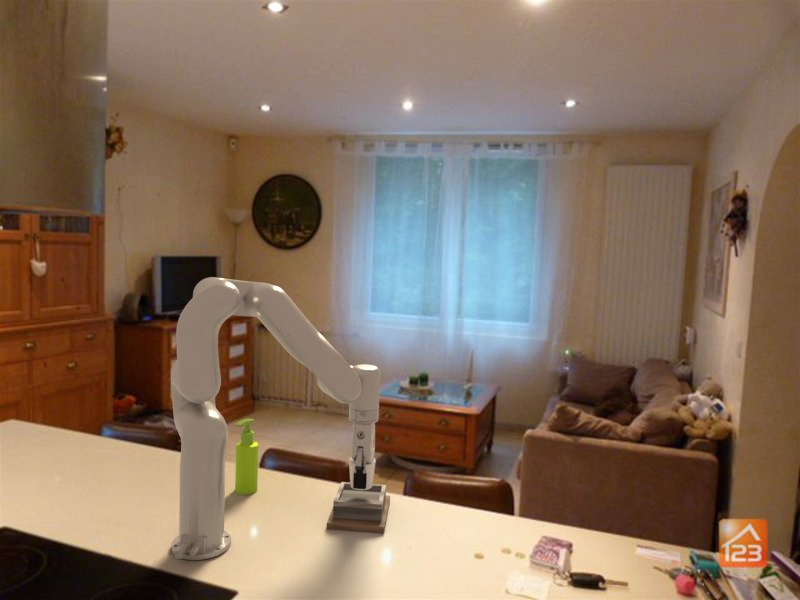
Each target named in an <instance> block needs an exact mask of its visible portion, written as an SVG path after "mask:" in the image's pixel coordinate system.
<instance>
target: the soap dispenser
mask: <svg viewBox="0 0 800 600" xmlns="http://www.w3.org/2000/svg"><path fill="white" fill-rule="evenodd" d="M254 421H255V419H254V418H253V419H252V418H245V419H241V420H239V421H237V422H236V423H235V424H234V425H235V426H237V427H242V426H244V429H243V430H242V431H241V432H240V441H239V442H237V443H236V444H235V483H234V484H235V486H234V490H235V493H236V494H238V495H243V496H246V495H252V494H255V493H257V492H258V477H259V475H258V474H259V473H258V472H259V470H258V469H259V464H258V463H259V443H258V442H257V441H255V440H254V439H255V435H254V434H255V431H254V430H252V423H253V422H254Z"/></svg>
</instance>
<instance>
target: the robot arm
mask: <svg viewBox="0 0 800 600" xmlns="http://www.w3.org/2000/svg"><path fill="white" fill-rule="evenodd" d="M231 316H241V317H255V318H257V320H259V321H260V323H261V324H262V325H264V327H265V328H266V329H267V330H268V332H269V333H270V334H271V335H272V336H273V338H274V339H276V340H277V342H278V343H279V345H281V346H282V348H284V350H285V351H286V353H288V354H289V355H290V356H291V357H292V358H293V359H294V360H296V361H297V362H298V363H300V364H301V365H303V366H304V367H305V368H307V369H308V370H309V371H310V372H311V373H312V374H313V375H315V377H316V383H317V386H318V388H319V389H320V391H322V392H323V393H324V394H326V395H327V396H329V397H331V398H332V399H334V400H335V401H336V402H338V403H342V404H348V421H350V422H351V423H352V434H351V435H352V440H351V443H352V444H351V457H352V460H353V461H354V462H355V468H354V478H353V488H355V489H366V479H367V473H366V462H369V463H370V462H371V461H372V459H373V457H374V455H375V452H376V451H375V450H376V423H377V422H378V421H379V417H380V414H379V413H380V394H381V393H380V392H381V391H380V390H381V388H380V387H381V370H380V367H378V366H377V365H373V364H366V363H363V364H356V365H350V364H349V363H348V361H347V360H346V359H345V358H344V357H343V356H342V354H341V353H340V352H339V351H338V350H336V348H334V346H333V345H331V343H330V342H329V341H328V340H327V339H326V338H325V337H324V336H323V334H321V333H320V331H318V330H317V329H316V327H315V326H314V324H312V322H311V321H310V320H309V319H308V318H307V317H306V315H304V313H303V311H301V309H300V308H299V307H298V306H297V305H296V303H295V302H294V301H293V300H292V299H291V297H290V295H288V294H287V293H286V292H285V290H284V289H282V287H280V286H277V285H274V284H271V283H267V282H259V281H249V280H248V281H247V280H239V279H232V278H231V279H230V278H225V277H224V278H222V277H217V276H216V277H215V276H214V277H213V276H210V277H205V278H203V279H201V280H200V281H199V282H198V283H197V284H196V286H194V289H193V293H192V298H191V299H190V300H189V301H188V302H187V304H186V305H185V306H184V308H183V309H182V311H181V313H180V315H179V317H178V321H177V323H176V324H177V325H176V331H175V333H176V334H175V335H176V337H175V339H176V361H174V363H173V365H172V367H171V371H170V389H171V400H172V401H171V402H172V411H173V412H172V413H173V421H174V424H175V425H174V426H175V428H176V430H177V432H178V435H179V437H180V443H181V446H180V448H181V449H180V458H179V520H178V521H179V523H178V524H179V529H178V530H179V531H178V532H179V533H178V536H177V537H175V538H174V540H173V541H172V543H171V552H172V553H173V557H174V558H175V559H177V560H182V559H183V560H188V561H201V560H207V559H211V558H215V557H217V556H220V555H222V554H223V553H225V552H226V551H227V550H228V549H229V548H230V547H231V544H232V537H231V535H230V534H229V532H227V531H226V530H225V501H226V500H225V495H226V491H225V490H226V489H225V488H226V455H227V449H228V441H229V440H228V439H229V430H228V429H229V428H228V425H227V422H226V420H225V418H224V416H223V415H222V413H220V411H219V410H218V409H217V407H216V405H217V404H216V396H217V395H218V394H219V392H220V389H221V385H222V377H221V376H222V375H221V368H220V356H219V332H220V329H221V327H222V325H223V324H224V322H225V321H226V320H228V319H229V318H230V317H231ZM362 458H363V459H365V461H362ZM362 463H364V467H363V466H362Z"/></svg>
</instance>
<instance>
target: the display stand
mask: <svg viewBox="0 0 800 600" xmlns="http://www.w3.org/2000/svg"><path fill="white" fill-rule="evenodd" d="M386 493H387V484H380V483H379V484H377V483H373V485H372V488H370V489H368V490H355V489H353V488H351V486H350V481H348V482H347V481H341V482H340V485H339V487H338V489H337V492H336V494H335V497H334V499H333V506H332V508H331V511H330V514H329V516H328V518H327V521H326V530H332V531H334V530H335V531H336V530H337V531H349V532H364V533H375V534H377V533H378V534H385V529H386V524H387V520H388V519H387V518H388V514H389V507H390V503H391V495H387V494H386Z"/></svg>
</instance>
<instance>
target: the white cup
mask: <svg viewBox="0 0 800 600" xmlns="http://www.w3.org/2000/svg"><path fill="white" fill-rule="evenodd" d="M362 461H365V459H363V458H362ZM376 463H377V461H376V458H375V457H374V456H373V459H372V461H371V462H370V463H369V462H366V473H367V479H366V489H355V488H353V478H354V468H355V462H354V461H353V460H352V456H349V458H348V465H349V468H348V469H349V482H350V486H351V488H353V489H355V490H368V489H370V488H372V485H373V484H374V478H375V477H374V476H375V469H376ZM362 466H363V467H364V463H362Z"/></svg>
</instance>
